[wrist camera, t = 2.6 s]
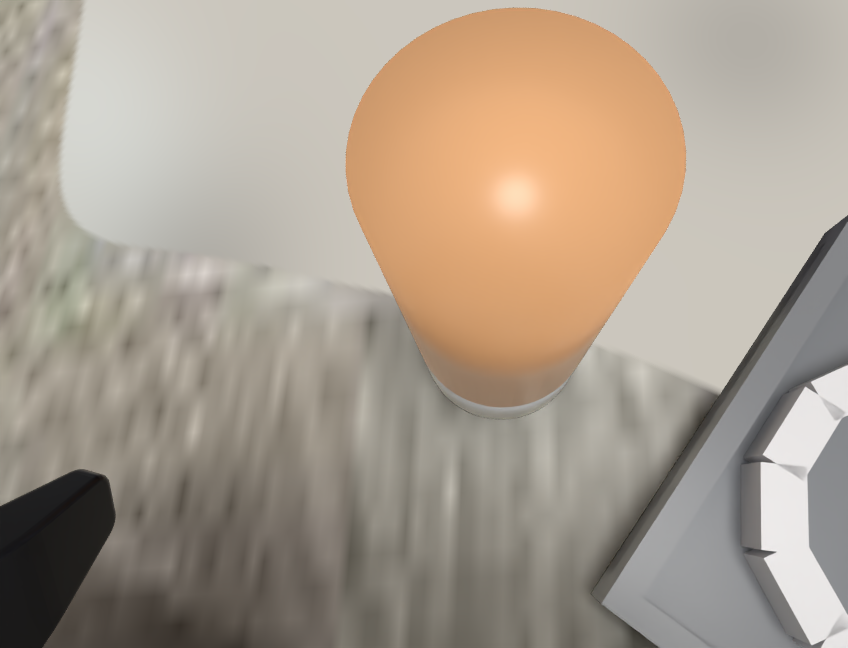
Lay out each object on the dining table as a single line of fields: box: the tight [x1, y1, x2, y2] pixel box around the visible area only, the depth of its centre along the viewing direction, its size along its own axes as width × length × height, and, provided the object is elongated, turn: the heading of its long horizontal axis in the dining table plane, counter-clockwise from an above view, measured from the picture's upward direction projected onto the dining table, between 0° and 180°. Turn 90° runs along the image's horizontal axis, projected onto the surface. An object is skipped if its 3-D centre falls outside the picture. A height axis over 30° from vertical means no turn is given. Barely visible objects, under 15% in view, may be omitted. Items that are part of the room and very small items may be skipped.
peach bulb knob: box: [346, 8, 686, 419], centre depth 16 cm, size 5×5×13 cm
